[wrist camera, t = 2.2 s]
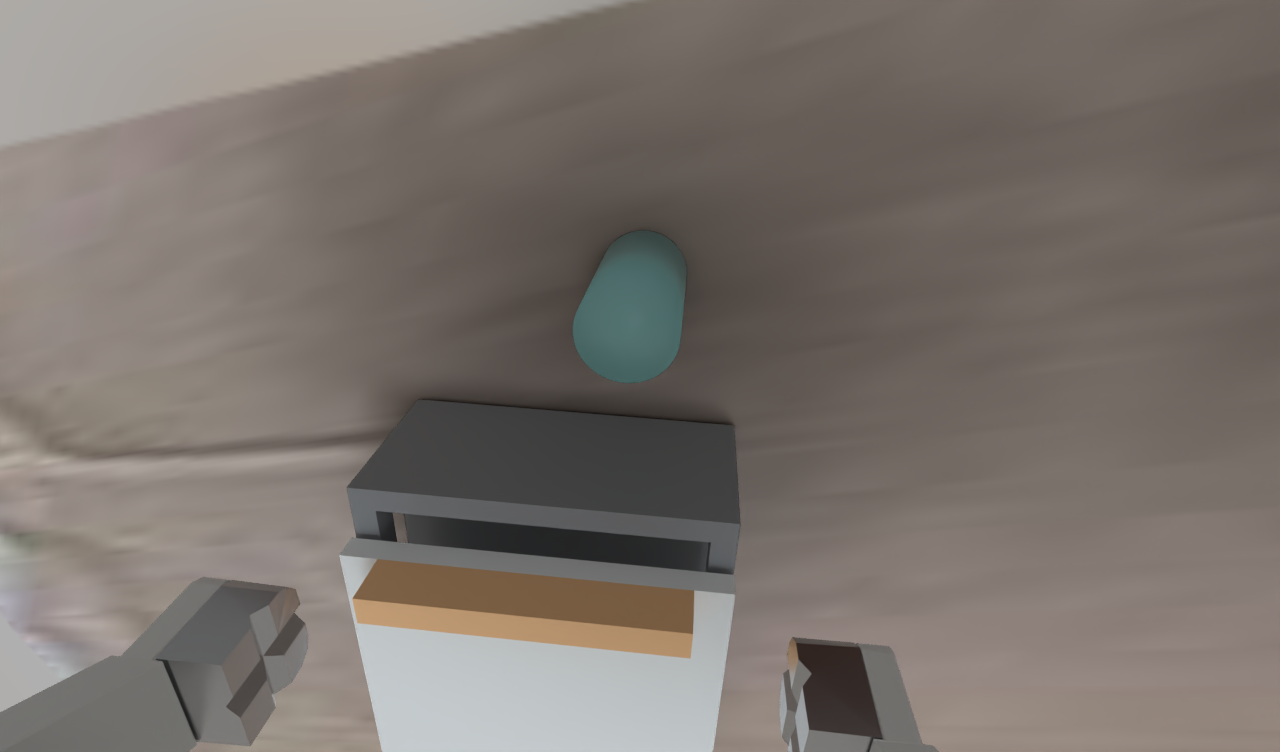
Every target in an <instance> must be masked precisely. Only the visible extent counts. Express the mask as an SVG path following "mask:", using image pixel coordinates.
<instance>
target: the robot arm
mask: <svg viewBox="0 0 1280 752" xmlns="http://www.w3.org/2000/svg"><path fill="white" fill-rule="evenodd" d="M299 605H300V602H299V599H298V595H297V592H296V589H293V588H289V587H282V586H275V585H267V584H259V583H251V582H244V581H236V580H225V579H217V578H208V577H202V578H200V579H198V580H196V581H194V582H192V583H191V584H190V585H189V586H188V587H187V588H186V589H185V590H184V591H183V592H182V593H181V594H180V595H179V596H178V597H177V598H176V599H175V600H174V601H173V603H172V604H171V605H170V606H169V607H168V608H167V609H166V610H165V611H164V612H163V613H162V614H161V615H160V616H159V617H158V618H157V619H156V620H155V621H154V622H153V623H152V624H151V625H150V626H149V627H148V629H147V630H146V631H145V632H144V633H143V634H142V635H141V636H140V637H139V638H138V639H137V640H136V641H135V642H134V643H133V644H132V645H131V646H130V647H129V648H128V649H127V650H126V651H125V652H124V653H123V655H122V656H110V657H108V658H106V659H104V660H102V661H100V662H98V663H96V664H94V665H92V666H90V667H88V668H86V669H84V670H82V671H80V672H78V673H76V674H74V675H73V676H71V677H69V678H67V679H65V680H63V681H61V682H59V683H57V684H55V685H53V686H51V687H49V688H47V689H45V690H43V691H41V692H39V693H37V694H35V695H33V696H32V697H30V698H28V699H26V700H24V701H22V702H20V703H18V704H16V705H14V706H12V707H10V708H8V709H6V710H4V711H2V712H0V752H189V751H190V750H191V749H193V748H194V747H195V746H196V745H197V742H206V743H218V744H230V745H241V746H251V744H252V743H253V741H254V740H255V738H256V737H257V735H258V734H259V732H260V731H261V729H262V728H263V726H264V725H265V723H266V722H267V720H268V718H269V717H270V715H271V714H272V712H273V711H274V709H275V708H276V706H275V696H274V694H275V693H277V692H278V691H280V690H281V689H283V688H285V687H286V686H288V685H289V684H291V683H292V681H293V680H294V678H295V677H296V675H297V673H298V672H299V670H300V669H301V667H302V664H303V661H304V658H305V655H306V652H307V649H308V632H307V628H306V624H305V623H304V622H303V621H302V620H301V619H300V618H299V617H298V616H297V615H296V614H295V613H294V612H295V611H296V609H297V608H298V606H299ZM787 657H788V665H789V670H787V671H786V672H785V673H783V677H782V683H781V690H780V725H781V735H782V738H783V739H784V741H785V742H786V743H787V744H788V746H789V747H788V752H939V751H938V750H937V749H936V748H935V747H934V746H932V745H925V744H922V740H921V737H920V734H919V731H918V728H917V724H916V721H915V718H914V715H913V712H912V708H911V705H910V702H909V699H908V696H907V692H906V689H905V686H904V683H903V680H902V676H901V673H900V670H899V667H898V664H897V660H896V657H895V654H894V652H893V651H892V649H891V648H890V647H889V646H879V645H869V644H858V643H857V644H855V643H851V642H840V641H829V640H817V639H806V638H795V637H792V639H791V641H790V643H789V648H788V652H787Z"/></svg>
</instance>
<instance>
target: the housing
mask: <svg viewBox="0 0 1280 752" xmlns="http://www.w3.org/2000/svg"><path fill="white" fill-rule="evenodd" d="M347 493H348V498H349V502H350V507H351V512H352V517H353V522H354V527H355V532H356V537H357V538H360V539H370V540H381V541H391V542H397V538H396V532H395V526H394V520H393V514H392V513H403V514H404V518H405V524H406V531H407V537H408V543H412V544H422V545H432V546H442V547H453V548H463V549H473V550H483V551H494V552H504V553H514V554H524V555H535V556H545V557H555V558H565V559H576V560H586V561H596V562H606V563H617V564H627V565H637V566H647V567H658V568H668V569H678V570H688V571H699V572H709V573H719V574H729V575H734V567H735V560H736V553H737V546H738V539H739V532H740V508H739V492H738V477H737V461H736V446H735V430H734V425H721V424H709V423H697V422H685V421H673V420H661V419H649V418H637V417H625V416H613V415H601V414H589V413H577V412H565V411H552V410H540V409H528V408H516V407H504V406H492V405H480V404H468V403H456V402H444V401H432V400H420V399H418V400H417V401H416V403H415V404H414V405H413V406H412V408H411V409H410V410H409V411H408V413H407V414H406V415H405V416H404V418H403V419H402V420H401V421H400V422H399V424H398V425H397V426H396V427H395V429H394V430H393V431H392V432H391V434H390V435H389V436H388V437H387V438H386V440H385V441H384V442H383V443H382V445H381V446H380V447H379V448H378V450H377V451H376V452H375V453H374V455H373V456H372V457H371V458H370V459H369V461H368V462H367V463H366V464H365V466H364V467H363V468H362V469H361V471H360V472H359V473H358V474H357V475H356V477H355V478H354V479H353V480H352V482H351V483H350V484H349V485H348V487H347Z"/></svg>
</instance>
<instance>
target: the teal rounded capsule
mask: <svg viewBox="0 0 1280 752" xmlns="http://www.w3.org/2000/svg"><path fill="white" fill-rule="evenodd" d="M686 279H687V268H686V263H685V259H684V257H683V255H682V253H681V251H680V250H679V248H678V247H677V246H676V245H675V244H674V243H673V242H672V241H671V240H670V239H668V238H667V237H665V236H663V235H661V234H659V233H656V232H652V231H634V232H630V233H627V234H625V235H623V236H621V237H619V238H618V239H617V240H615V241H614V242H613V243H612V244H611V245H610V247H609V248H608V249H607V251H606V253H605V255H604V257H603V259H602V261H601V263H600V265H599V267H598V269H597V271H596V273H595V275H594V277H593V279H592V281H591V283H590V286H589V288H588V290H587V292H586V294H585V296H584V298H583V300H582V302H581V304H580V306H579V308H578V310H577V312H576V315H575V318H574V322H573V339H574V343H575V346H576V349H577V351H578V353H579V355H580V357H581V358H582V360H583V361H584V362H585V363H586V364H587V366H588V367H590V368H591V369H592V370H593V371H594V372H596V373H597V374H599V375H601V376H603V377H604V378H607V379H609V380H612V381H616V382H622V383H637V382H642V381H646V380H649V379H652V378H654V377H656V376H658V375H659V374H661V373H662V372H663V371H664V370H666V369H667V368H668V367H669V365H670V364H671V363H672V362H673V360H674V359H675V357H676V355H677V353H678V350H679V346H680V340H681V331H682V321H683V310H684V300H685V290H686Z"/></svg>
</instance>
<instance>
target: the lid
mask: <svg viewBox="0 0 1280 752" xmlns="http://www.w3.org/2000/svg"><path fill="white" fill-rule="evenodd" d="M339 556H340V561H341V565H342V570H343V575H344V579H345V584H346V588H347V593H348V597H349V602H350V606H351V611H352V616H353V620H354V625H355V629H356V634H357V638H358V643H359V647H360V652H361V657H362V661H363V666H364V670H365V675H366V679H367V684H368V688H369V693H370V698H371V702H372V707H373V711H374V716H375V720H376V725H377V730H378V734H379V739H380V743H381V748H382V752H713V747H714V740H715V733H716V726H717V719H718V712H719V705H720V698H721V691H722V684H723V677H724V670H725V664H726V657H727V650H728V643H729V636H730V629H731V622H732V615H733V608H734V601H735V575H729V574H719V573H709V572H699V571H688V570H678V569H668V568H658V567H647V566H637V565H627V564H617V563H606V562H596V561H586V560H576V559H565V558H555V557H545V556H535V555H524V554H514V553H504V552H494V551H483V550H473V549H463V548H453V547H442V546H432V545H422V544H412V543H401V542H391V541H381V540H370V539H360V538H351V540H350V541H349V542H348V544H347V545H346V547H345V548H344V549H343V551H342V552H341V554H340V555H339Z"/></svg>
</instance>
